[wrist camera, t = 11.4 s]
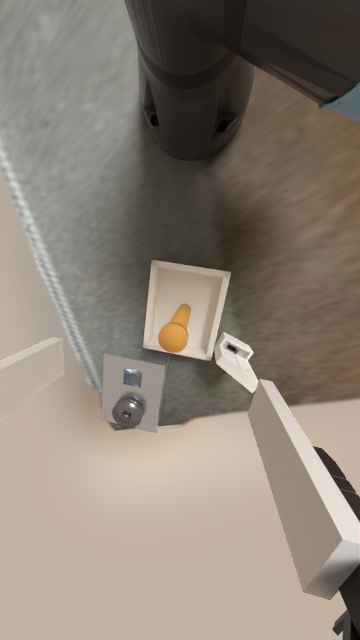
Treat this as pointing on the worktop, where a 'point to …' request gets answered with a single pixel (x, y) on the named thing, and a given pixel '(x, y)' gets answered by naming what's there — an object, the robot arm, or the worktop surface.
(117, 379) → the block
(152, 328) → the tray
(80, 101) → the worktop surface
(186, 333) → the lock pin
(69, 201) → the worktop surface
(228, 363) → the white wedge bracket
